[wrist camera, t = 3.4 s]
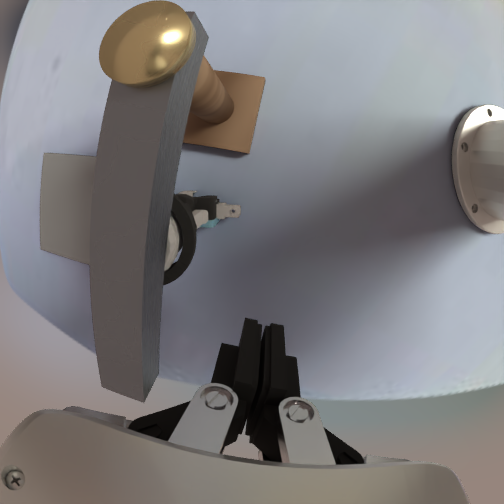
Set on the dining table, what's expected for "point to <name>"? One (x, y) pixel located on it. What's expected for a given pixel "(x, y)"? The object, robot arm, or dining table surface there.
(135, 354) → the steel strap
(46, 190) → the rubber mat
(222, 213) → the push button
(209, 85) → the post
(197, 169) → the dining table surface
